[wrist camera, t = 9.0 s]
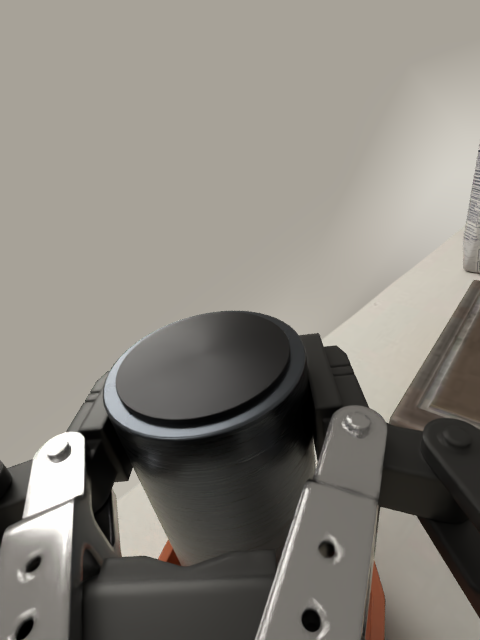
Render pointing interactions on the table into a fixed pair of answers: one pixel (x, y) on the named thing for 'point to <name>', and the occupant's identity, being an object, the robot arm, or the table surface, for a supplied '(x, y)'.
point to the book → (448, 373)
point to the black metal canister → (217, 429)
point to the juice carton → (473, 226)
